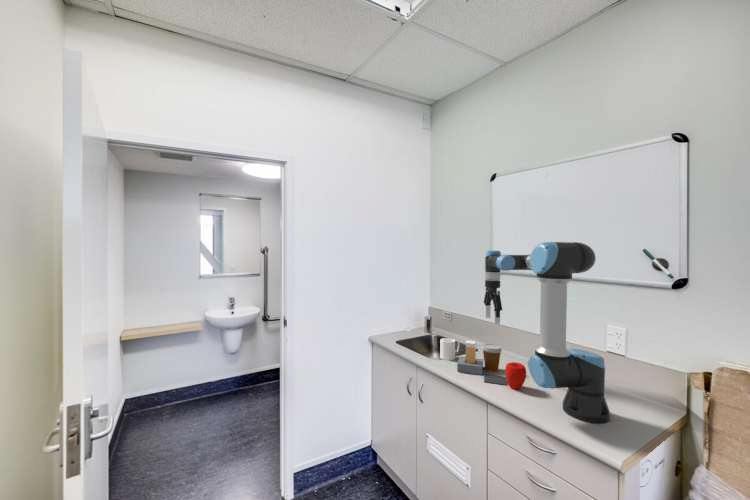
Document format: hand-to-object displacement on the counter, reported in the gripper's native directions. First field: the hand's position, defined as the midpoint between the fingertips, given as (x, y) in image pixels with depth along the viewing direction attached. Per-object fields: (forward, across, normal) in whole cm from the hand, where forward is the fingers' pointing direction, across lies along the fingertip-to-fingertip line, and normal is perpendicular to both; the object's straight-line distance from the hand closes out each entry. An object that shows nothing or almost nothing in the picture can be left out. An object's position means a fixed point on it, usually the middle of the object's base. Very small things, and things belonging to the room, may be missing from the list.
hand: (492, 320), depth 170 cm
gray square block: (+25, -3, +12) cm, 27 cm away
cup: (+25, +15, +18) cm, 34 cm away
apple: (+25, -25, -2) cm, 35 cm away
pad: (+24, -16, +4) cm, 30 cm away
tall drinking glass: (+25, -3, +12) cm, 27 cm away
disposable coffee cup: (+25, -3, +1) cm, 25 cm away
